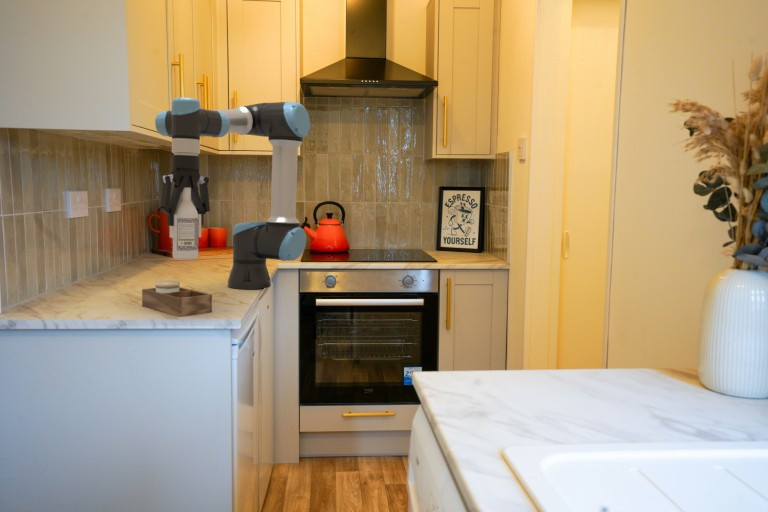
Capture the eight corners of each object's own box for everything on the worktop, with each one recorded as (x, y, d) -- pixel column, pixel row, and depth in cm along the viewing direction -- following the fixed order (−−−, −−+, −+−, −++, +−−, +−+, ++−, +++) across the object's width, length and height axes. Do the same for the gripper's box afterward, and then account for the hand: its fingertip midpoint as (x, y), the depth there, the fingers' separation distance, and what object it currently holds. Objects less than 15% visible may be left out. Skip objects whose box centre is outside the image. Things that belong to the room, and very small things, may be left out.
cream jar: (171, 300, 199) (171, 280, 199) (184, 303, 195) (184, 282, 194) (151, 302, 194) (150, 281, 194) (163, 306, 190) (163, 284, 189)
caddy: (174, 302, 202) (174, 285, 201) (211, 312, 189) (211, 294, 188) (142, 305, 194) (142, 289, 194) (179, 316, 181) (179, 298, 180)
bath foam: (202, 258, 187) (203, 187, 185) (180, 260, 182) (180, 187, 180) (190, 256, 191) (190, 187, 189) (167, 257, 186) (167, 186, 184)
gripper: (208, 157, 193) (208, 235, 196) (145, 152, 179) (146, 237, 181) (223, 156, 188) (223, 237, 191) (160, 152, 174) (160, 239, 176)
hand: (185, 237), depth 186 cm, fingers closed on bath foam, 7 cm apart
